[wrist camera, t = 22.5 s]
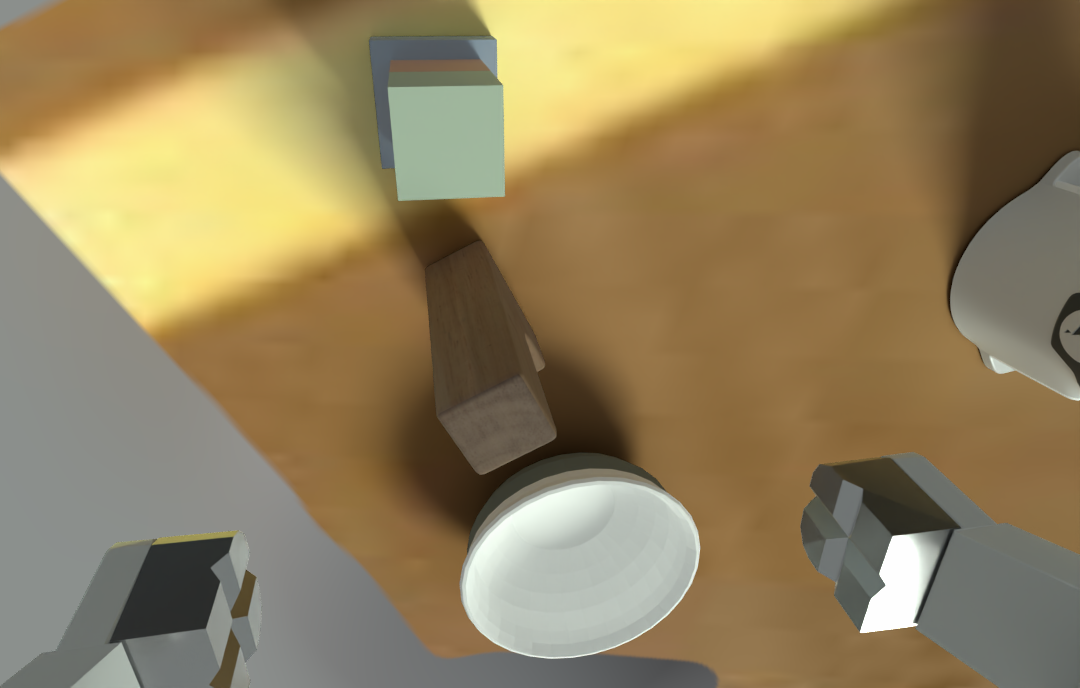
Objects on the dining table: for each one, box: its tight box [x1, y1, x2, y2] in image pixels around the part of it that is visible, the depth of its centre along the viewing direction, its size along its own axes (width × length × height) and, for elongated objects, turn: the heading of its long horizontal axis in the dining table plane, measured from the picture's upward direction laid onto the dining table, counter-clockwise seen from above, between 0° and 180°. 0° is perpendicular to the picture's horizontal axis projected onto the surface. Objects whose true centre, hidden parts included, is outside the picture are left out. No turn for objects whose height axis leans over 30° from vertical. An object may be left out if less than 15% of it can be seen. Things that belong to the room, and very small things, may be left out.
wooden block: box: [425, 241, 557, 475], centre depth 41 cm, size 9×4×18 cm, turn 25°
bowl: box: [460, 453, 700, 658], centre depth 56 cm, size 19×19×8 cm
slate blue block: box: [369, 36, 497, 169], centre depth 41 cm, size 7×7×2 cm
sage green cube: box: [388, 71, 505, 201], centre depth 33 cm, size 5×5×5 cm
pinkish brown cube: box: [389, 59, 490, 72], centre depth 38 cm, size 5×5×5 cm
